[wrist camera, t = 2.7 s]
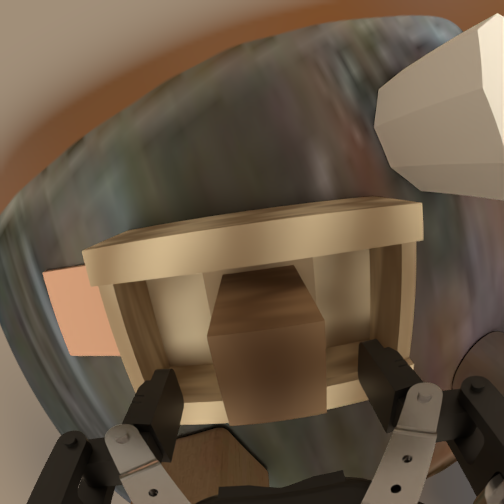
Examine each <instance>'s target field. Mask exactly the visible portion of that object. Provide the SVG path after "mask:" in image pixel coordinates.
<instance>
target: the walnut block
mask: <svg viewBox="0 0 504 504" xmlns="http://www.w3.org/2000/svg"><path fill="white" fill-rule="evenodd" d="M207 341H208V345H209V349H210V353H211V357H212V361H213V365H214V369H215V373H216V377H217V381H218V385H219V389H220V392H221V396H222V400H223V404H224V407H225V411H226V414H227V418H228V421H229V425H230V426H238V425H249V424H259V423H267V422H275V421H283V420H289V419H296V418H302V417H308V416H313V415H319V414H324V413H327V374H326V337H325V320H324V318H323V316H322V314H321V313H320V311H319V309H318V307H317V305H316V304H315V302H314V300H313V298H312V296H311V295H310V293H309V291H308V289H307V287H306V286H305V284H304V282H303V280H302V279H301V277H300V275H299V273H298V271H297V270H296V268H295V266H294V265H289V266H282V267H275V268H268V269H261V270H254V271H246V272H239V273H232V274H224V275H222V279H221V282H220V286H219V290H218V294H217V298H216V302H215V306H214V309H213V313H212V317H211V321H210V325H209V329H208V333H207Z"/></svg>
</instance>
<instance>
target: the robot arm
mask: <svg viewBox="0 0 504 504" xmlns="http://www.w3.org/2000/svg"><path fill="white" fill-rule="evenodd" d="M358 379H359V382H360V384H361V386H362V388H363V390H364V392H365V394H366V396H367V397H368V399H369V401H370V403H371V405H372V407H373V409H374V411H375V412H376V414H377V416H378V418H379V420H380V422H381V424H382V426H383V428H384V430H385V432H386V433H389V432H392V431H393V433H392V436H391V439H390V441H389V444H388V446H387V449H386V451H385V453H384V456H383V458H382V460H381V463H380V465H379V467H378V469H377V472H376V474H375V476H374V478H373V480H372V481H371V480H367V479H363V478H353V477H345V476H344V473H343V470H341V471H337V472H333V473H328V474H323V475H319V476H313V477H311V478H308V479H305V480H303V481H300V482H298V483H295V484H292V485H289V486H286V487H283V488H273V487H261V486H252V485H244V486H225V487H219V489H218V495H214V496H211V497H207V498H205V499H203V500H200V501H199V502H197V503H195V504H423V503H421V502H418V500H419V498H420V495H421V492H422V489H423V486H424V483H425V479H426V476H427V473H428V469H429V466H430V462H431V459H432V455H433V451H434V447H435V443H436V442H441V441H446V442H447V443H448V445H449V447H450V449H451V450H452V452H453V454H454V456H455V457H456V459H457V461H458V463H459V464H460V466H461V468H462V470H463V472H464V473H465V475H466V477H467V479H468V481H469V482H470V485H471V486H472V488H473V490H474V492H475V494H476V496H477V497H476V499H475V501H474V503H473V504H504V333H502V332H499V331H496V332H492V333H490V334H488V335H486V336H485V337H483V338H482V339H481V340H480V341H478V342H477V343H476V344H475V345H474V346H473V347H472V349H471V350H470V351H469V352H468V354H467V355H466V356H465V358H464V359H463V361H462V362H461V364H460V366H459V368H458V370H457V372H456V374H455V377H454V381H453V390H447V391H442V390H441V389H440V388H439V387H438V386H437V385H435V384H432V383H426V382H423V381H422V380H421V379H420V377H419V376H418V375H417V374H416V373H415V371H414V370H413V369H412V368H411V367H410V365H408V363H407V362H406V361H405V359H403V357H402V356H401V355H400V353H399V352H398V351H396V350H394V349H392V348H390V347H386V348H384V347H383V346H382V345H381V344H380V342H379V341H378V340H377V339H373V340H369V341H364V342H360V343H359V349H358ZM183 409H184V399H183V395H182V392H181V389H180V386H179V383H178V380H177V377H176V374H175V372H174V370H173V369H156V370H155V371H154V374H153V376H152V378H151V380H146V381H145V382H144V383H143V384H142V385H141V386H140V387H139V388H138V390H137V392H136V394H135V397H134V398H133V401H132V403H131V405H130V407H129V409H128V412H127V414H126V416H125V418H124V421H123V423H122V424H120V425H117V426H114V427H112V428H111V429H110V430H109V431H108V432H107V433H106V435H105V437H104V438H97V439H89V440H88V439H87V438H86V436H85V435H84V434H83V433H82V432H80V431H69V432H66V433H64V434H63V435H62V436H60V438H59V439H58V440H57V442H56V444H55V446H54V448H53V450H52V452H51V454H50V456H49V458H48V460H47V462H46V464H45V466H44V468H43V470H42V472H41V474H40V476H39V478H38V480H37V482H36V485H35V487H34V489H33V491H32V493H31V495H30V498H29V500H28V502H27V504H111V500H112V496H113V493H114V489H115V486H116V485H123V486H124V488H125V490H126V492H127V493H128V495H129V497H130V499H131V501H132V502H133V504H191V503H190V502H189V501H188V499H187V498H186V497H185V496H184V494H183V493H182V492H181V491H180V489H179V488H178V487H177V485H176V484H175V483H174V482H173V480H172V479H171V478H170V476H169V475H168V473H167V472H166V471H165V469H164V468H163V466H162V465H161V463H162V462H169V463H171V461H172V457H173V452H174V448H175V444H176V439H177V435H178V430H179V426H180V422H181V418H182V413H183ZM81 478H82V480H81ZM80 481H81V482H80ZM79 484H80V485H79ZM78 486H79V488H78Z"/></svg>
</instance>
